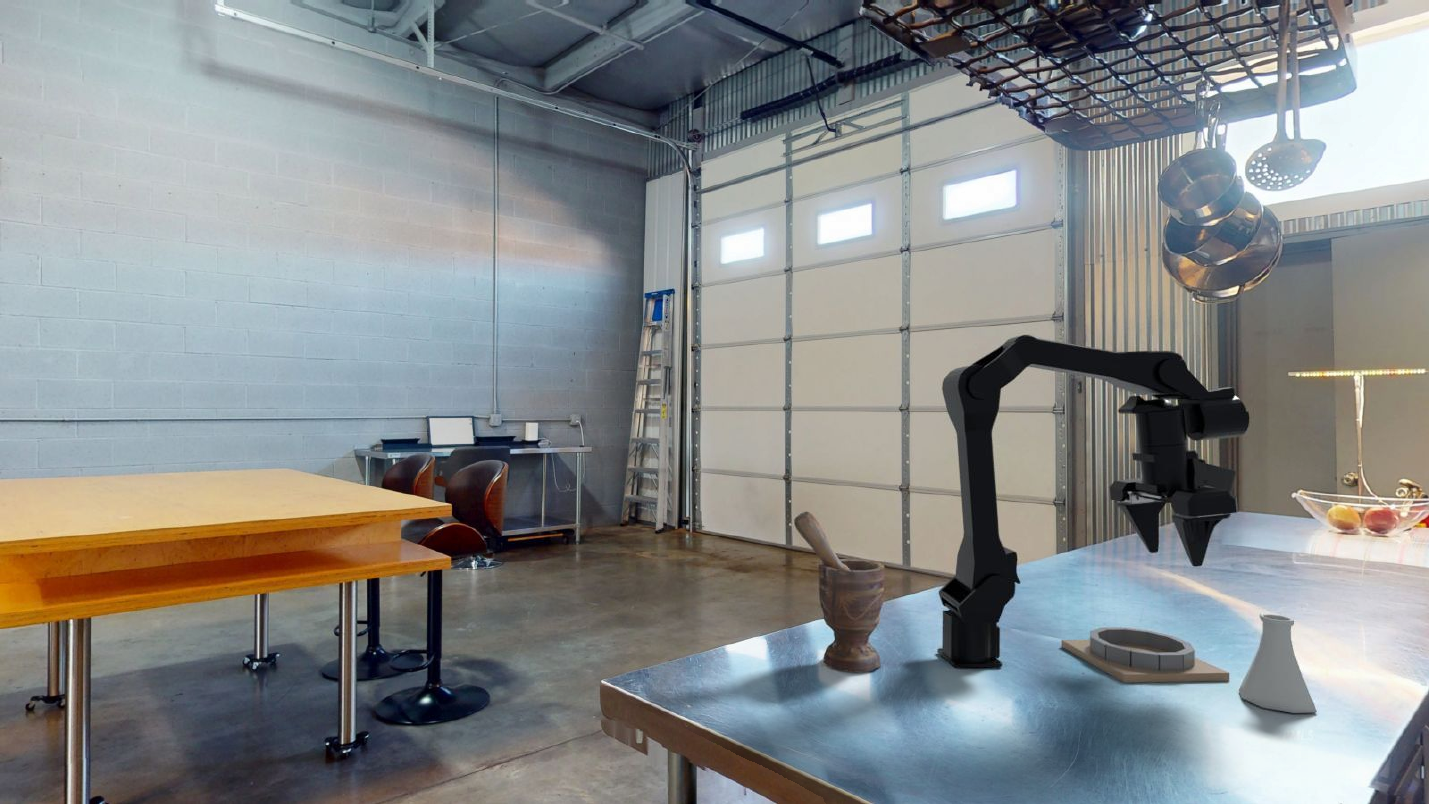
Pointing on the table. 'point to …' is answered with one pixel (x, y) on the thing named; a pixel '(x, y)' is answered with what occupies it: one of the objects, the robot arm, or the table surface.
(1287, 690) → the flask
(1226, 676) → the duct collar
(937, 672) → the table surface
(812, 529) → the mortar and pestle
